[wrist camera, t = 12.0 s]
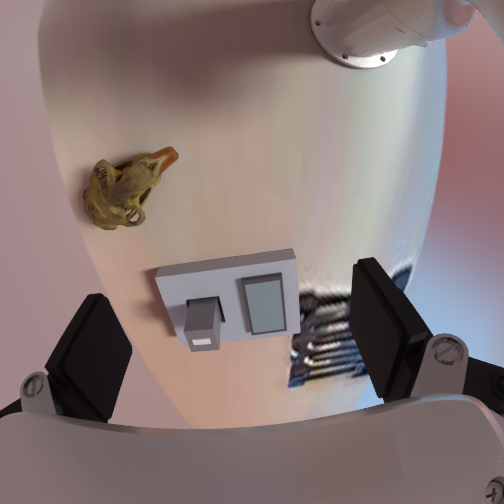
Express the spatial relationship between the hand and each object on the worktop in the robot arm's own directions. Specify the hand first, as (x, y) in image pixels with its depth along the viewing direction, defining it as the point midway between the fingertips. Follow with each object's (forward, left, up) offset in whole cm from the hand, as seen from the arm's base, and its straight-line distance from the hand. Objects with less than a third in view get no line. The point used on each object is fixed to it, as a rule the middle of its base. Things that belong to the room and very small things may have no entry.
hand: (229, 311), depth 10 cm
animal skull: (+13, -1, -28) cm, 31 cm away
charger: (+8, +20, -28) cm, 35 cm away
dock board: (+4, +20, -28) cm, 35 cm away
